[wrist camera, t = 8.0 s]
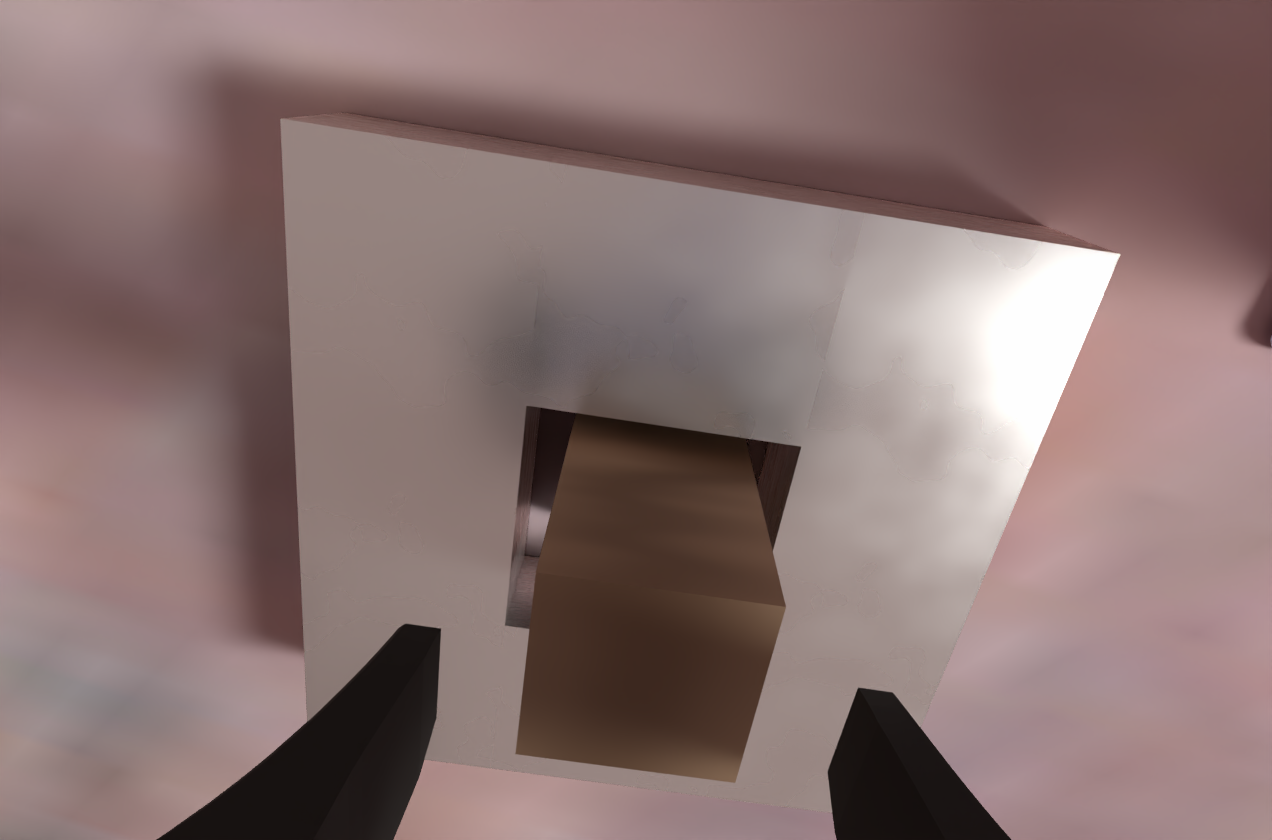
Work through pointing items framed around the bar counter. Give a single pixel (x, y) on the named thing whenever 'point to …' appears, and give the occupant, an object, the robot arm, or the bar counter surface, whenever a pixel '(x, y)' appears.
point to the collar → (654, 407)
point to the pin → (650, 604)
